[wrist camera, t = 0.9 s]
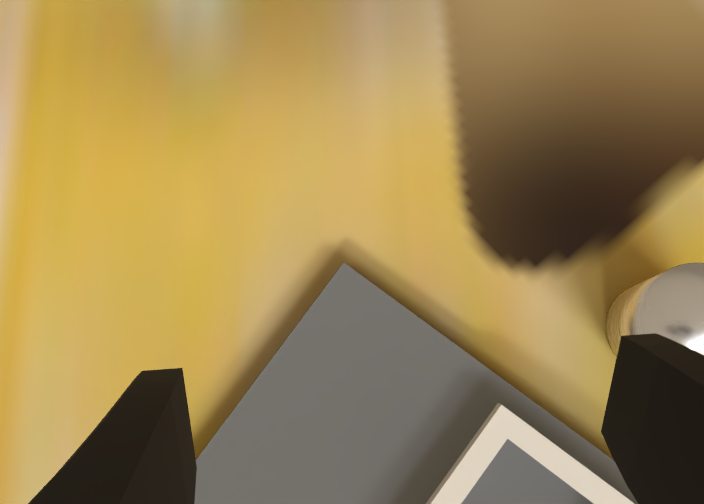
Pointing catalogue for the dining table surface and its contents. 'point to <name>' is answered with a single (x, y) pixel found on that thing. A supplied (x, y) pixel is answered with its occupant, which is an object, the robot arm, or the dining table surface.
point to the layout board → (392, 421)
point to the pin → (662, 308)
